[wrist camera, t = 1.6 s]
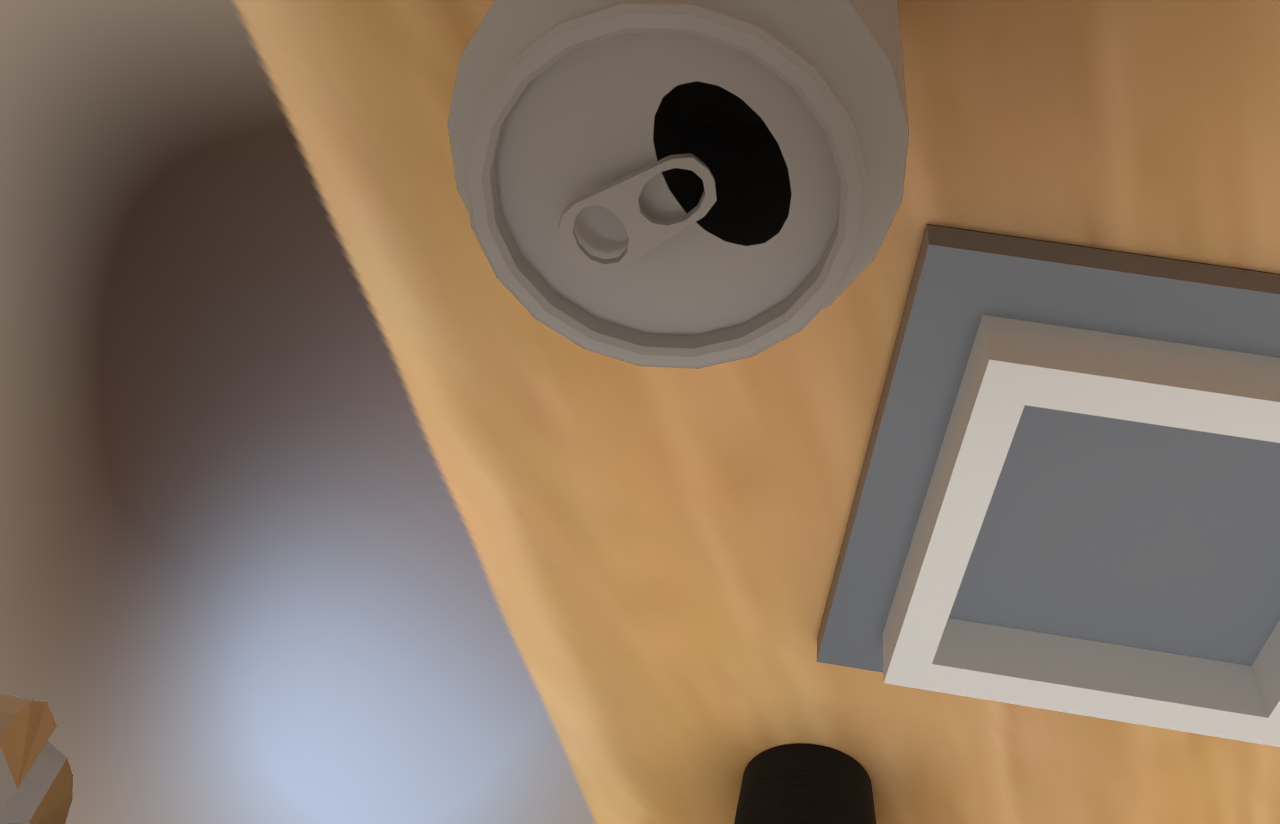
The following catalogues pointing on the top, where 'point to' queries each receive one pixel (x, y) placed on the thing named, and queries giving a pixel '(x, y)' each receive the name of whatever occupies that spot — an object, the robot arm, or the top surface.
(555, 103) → the can
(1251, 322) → the grey flat square tray
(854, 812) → the drinking cup
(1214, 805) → the top surface
